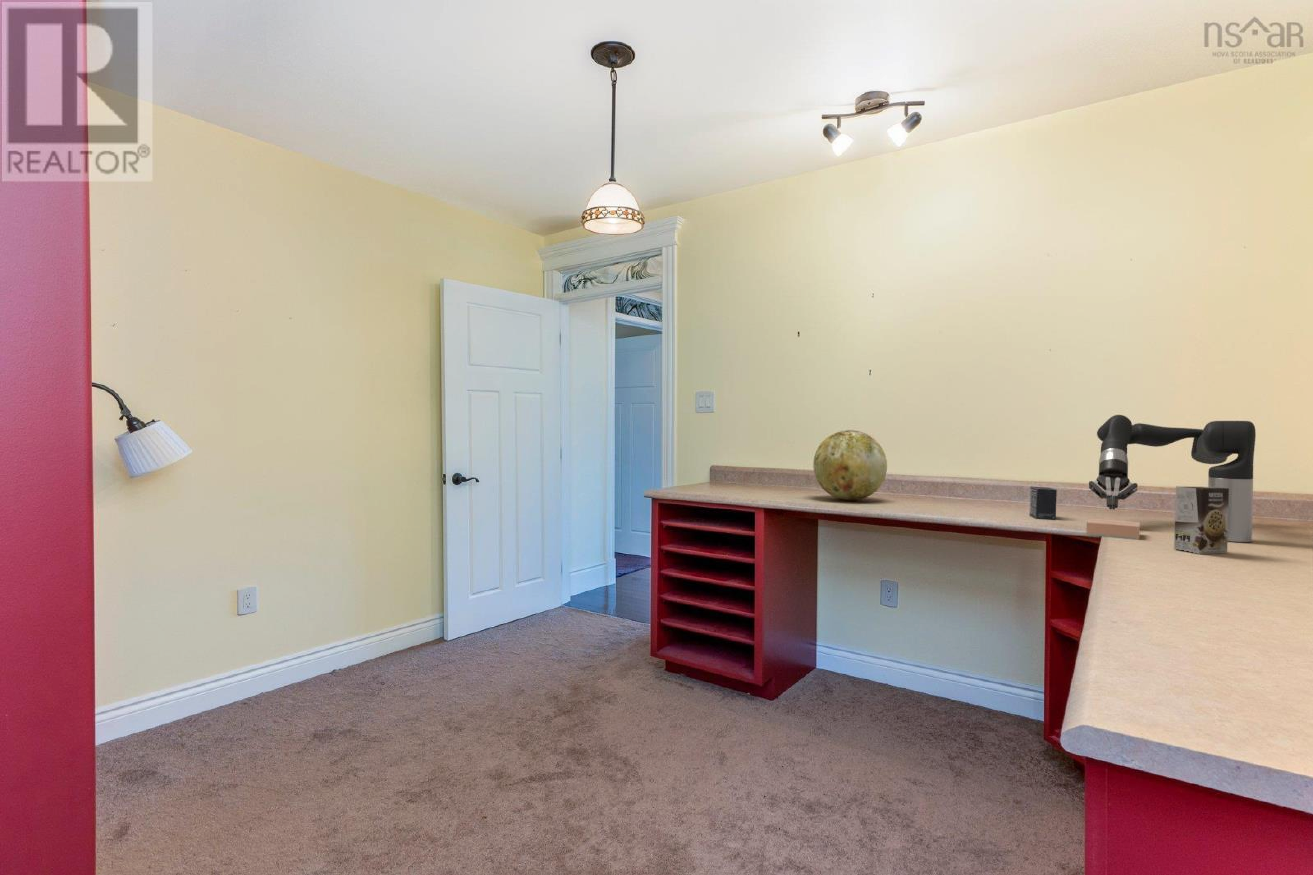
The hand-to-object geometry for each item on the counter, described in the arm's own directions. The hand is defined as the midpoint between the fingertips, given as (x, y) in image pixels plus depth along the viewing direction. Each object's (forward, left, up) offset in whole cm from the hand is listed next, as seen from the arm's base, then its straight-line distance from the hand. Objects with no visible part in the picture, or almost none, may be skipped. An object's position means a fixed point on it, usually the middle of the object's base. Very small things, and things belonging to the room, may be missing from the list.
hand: (1112, 507), depth 191 cm
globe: (+24, -91, -7) cm, 95 cm away
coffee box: (+18, +32, -7) cm, 37 cm away
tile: (+5, +4, -5) cm, 8 cm away
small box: (-6, -26, -7) cm, 28 cm away
